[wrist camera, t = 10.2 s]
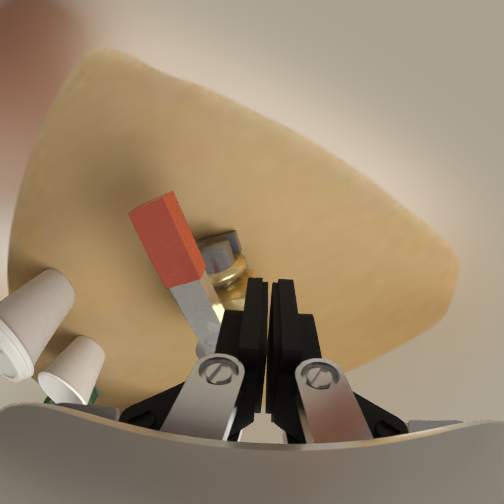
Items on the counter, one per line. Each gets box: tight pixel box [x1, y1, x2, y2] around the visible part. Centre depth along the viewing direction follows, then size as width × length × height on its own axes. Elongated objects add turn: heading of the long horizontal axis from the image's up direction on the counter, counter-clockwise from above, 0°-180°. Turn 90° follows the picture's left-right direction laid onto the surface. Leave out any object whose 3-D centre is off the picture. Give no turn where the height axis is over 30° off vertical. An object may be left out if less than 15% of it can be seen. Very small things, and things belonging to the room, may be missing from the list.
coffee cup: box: [0, 269, 75, 383], centre depth 27 cm, size 10×10×15 cm
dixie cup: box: [38, 336, 105, 405], centre depth 34 cm, size 8×8×10 cm
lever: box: [128, 191, 225, 359], centre depth 22 cm, size 4×15×2 cm, turn 20°
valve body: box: [196, 231, 269, 339], centre depth 28 cm, size 13×6×8 cm, turn 16°
